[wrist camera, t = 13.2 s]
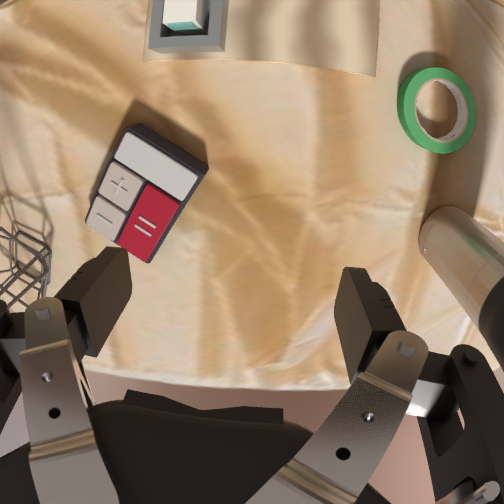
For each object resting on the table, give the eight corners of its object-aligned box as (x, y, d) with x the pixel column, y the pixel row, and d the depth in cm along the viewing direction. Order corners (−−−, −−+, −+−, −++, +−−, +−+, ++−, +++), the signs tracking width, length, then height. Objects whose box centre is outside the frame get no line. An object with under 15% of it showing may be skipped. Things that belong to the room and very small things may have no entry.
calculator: (80, 225, 38) (123, 126, 32) (95, 212, 42) (138, 121, 35) (146, 268, 41) (203, 176, 34) (157, 252, 44) (210, 166, 38)
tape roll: (396, 148, 35) (404, 152, 33) (393, 63, 30) (401, 61, 28) (464, 152, 35) (475, 156, 32) (464, 74, 30) (475, 74, 27)
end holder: (231, -25, 25) (227, -39, 21) (224, 52, 30) (219, 45, 26) (169, -22, 26) (157, -34, 22) (161, 53, 30) (148, 48, 26)
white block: (210, -13, 26) (200, -31, 20) (206, 35, 28) (195, 23, 23) (182, -11, 26) (167, -28, 20) (178, 36, 28) (162, 25, 23)
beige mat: (377, -20, 25) (379, -23, 24) (372, 77, 31) (375, 77, 30) (156, -34, 25) (154, -37, 24) (145, 62, 32) (142, 61, 31)
